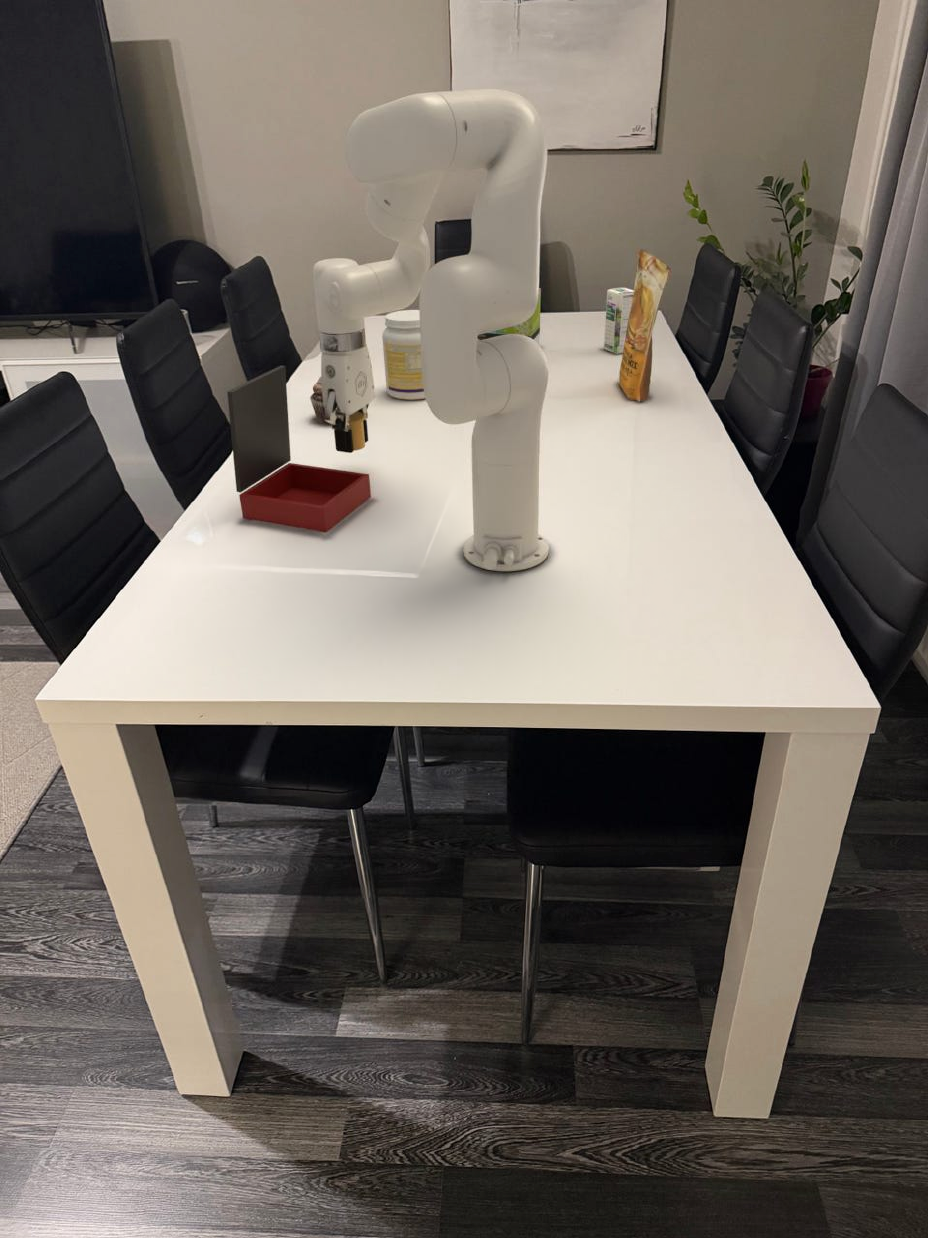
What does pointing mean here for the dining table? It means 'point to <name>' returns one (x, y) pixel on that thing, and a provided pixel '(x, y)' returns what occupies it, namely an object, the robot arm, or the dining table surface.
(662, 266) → the pancake mix bag
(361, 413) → the brass drawer pull
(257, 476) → the lid
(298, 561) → the dining table surface
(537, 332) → the tea box
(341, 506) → the red open tray
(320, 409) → the cupcake
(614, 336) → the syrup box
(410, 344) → the supplement tub
